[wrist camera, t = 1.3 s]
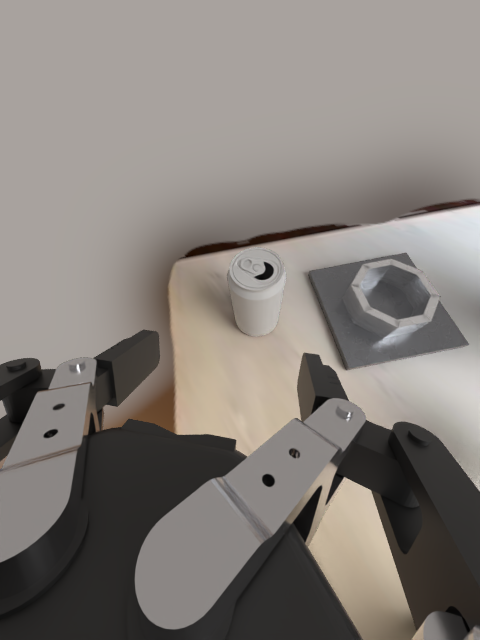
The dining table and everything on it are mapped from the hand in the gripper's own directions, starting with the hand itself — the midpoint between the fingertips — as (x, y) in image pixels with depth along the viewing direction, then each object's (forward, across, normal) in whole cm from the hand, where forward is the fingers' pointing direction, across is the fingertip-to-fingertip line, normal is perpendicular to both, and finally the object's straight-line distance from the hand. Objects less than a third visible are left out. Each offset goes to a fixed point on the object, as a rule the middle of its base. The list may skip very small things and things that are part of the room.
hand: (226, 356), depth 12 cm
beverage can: (+22, 0, +5) cm, 22 cm away
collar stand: (+24, -18, +2) cm, 30 cm away
